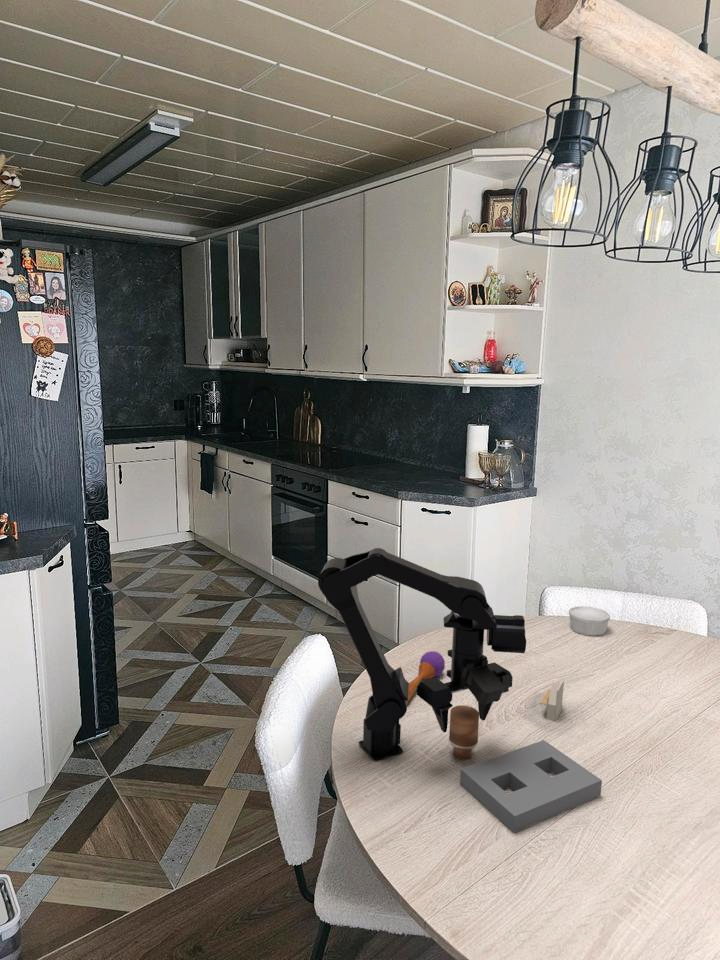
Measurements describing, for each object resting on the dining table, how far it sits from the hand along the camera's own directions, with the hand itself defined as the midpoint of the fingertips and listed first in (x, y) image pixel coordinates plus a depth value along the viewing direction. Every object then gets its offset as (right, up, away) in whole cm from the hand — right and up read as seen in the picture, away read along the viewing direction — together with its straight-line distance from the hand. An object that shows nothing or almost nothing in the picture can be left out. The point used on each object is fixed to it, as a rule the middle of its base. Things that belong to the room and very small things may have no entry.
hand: (463, 725), depth 125 cm
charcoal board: (+10, -8, -9) cm, 16 cm away
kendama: (-6, -2, +28) cm, 28 cm away
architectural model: (+22, -4, +17) cm, 28 cm away
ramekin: (+46, +4, +63) cm, 78 cm away
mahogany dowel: (0, -6, +1) cm, 6 cm away
